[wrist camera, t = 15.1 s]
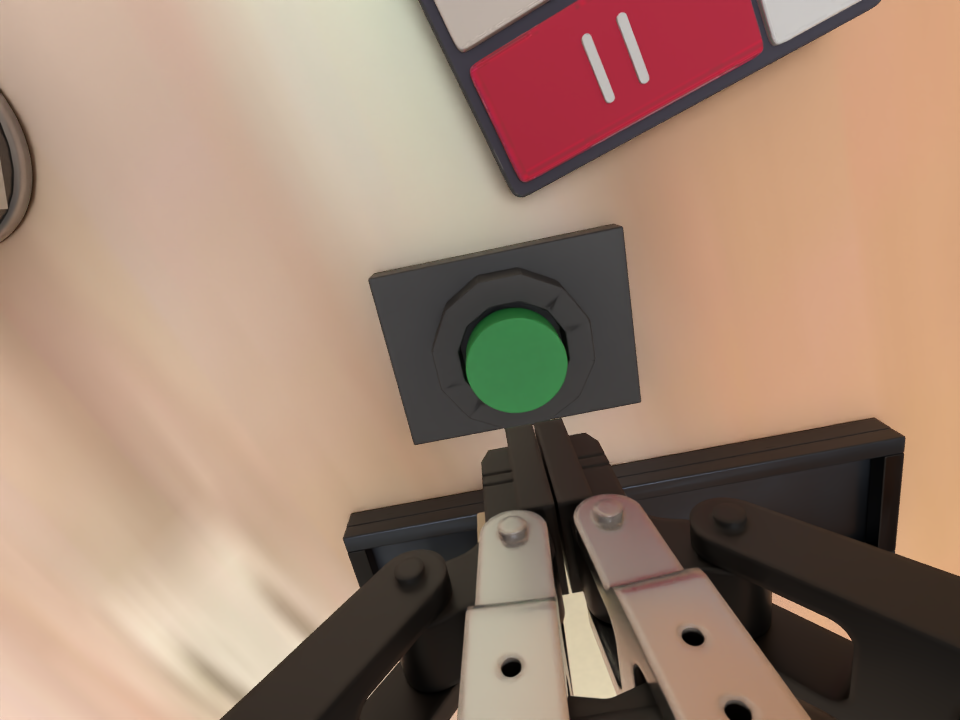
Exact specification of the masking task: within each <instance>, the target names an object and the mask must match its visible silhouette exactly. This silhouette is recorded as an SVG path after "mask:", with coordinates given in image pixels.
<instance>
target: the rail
mask: <svg viewBox="0 0 960 720" xmlns="http://www.w3.org/2000/svg"><path fill="white" fill-rule="evenodd" d="M904 448H905V436H903V435H902V434H900V433H898V432H897V431H895V430H893V429H891V428H890V427H889V426H887V425H886V424H884V423H882V422H881V421H879V420H877V419H876V418H872V419H866V420H861V421H855V422H850V423H844V424H839V425H833V426H828V427H822V428H817V429H812V430H806V431H801V432H795V433H790V434H784V435H779V436H773V437H768V438H762V439H757V440H752V441H746V442H741V443H735V444H730V445H724V446H719V447H713V448H708V449H702V450H697V451H692V452H686V453H681V454H675V455H670V456H664V457H659V458H653V459H648V460H642V461H637V462H632V463H626V464H621V465H615V466H611V467H612V469H613V471H614V473H615V475H616V477H617V479H618V481H619V483H620V484H621V486H622V488H623V490H624V492H625V494H626V496H627V497H629V498H631V499H633V500H635V501H636V502H637V503H639V504H640V506H641V507H642V508H643V510H644V511H645V513H646V514H648V515H652V516H655V517H660V518H668V519H687V520H689V516H690V512H691V510H692V509H693V507H694V506H696V505H697V504H698V503H700V502H702V501H705V500H707V499H712V498H720V497H724V498H735V499H740V500H744V501H747V502H750V503H753V504H756V505H758V506H761V507H764V508H767V509H770V510H773V511H775V512H778V513H781V514H784V515H787V516H790V517H792V518H795V519H798V520H801V521H804V522H807V523H809V524H812V525H815V526H818V527H821V528H824V529H826V530H829V531H832V532H835V533H838V534H841V535H843V536H846V537H849V538H852V539H855V540H858V541H861V542H863V543H866V544H869V545H872V546H875V547H878V548H880V549H883V550H886V551H889V552H892V553H895V547H896V536H897V525H898V515H899V504H900V493H901V482H902V471H903V460H904V453H903V452H904ZM481 512H485V510H484V495H483V490H479V491H473V492H468V493H462V494H457V495H451V496H446V497H441V498H435V499H430V500H424V501H419V502H413V503H408V504H402V505H397V506H391V507H386V508H380V509H375V510H370V511H364V512H359V513H353V514H351V516H350V519H349V522H348V524H347V528H346V531H345V534H344V537H343V540H344V543H345V546H346V549H347V552H348V555H349V558H350V561H351V563H352V566H353V569H354V572H355V575H356V577H357V580H358V583H359V586H360V588H361V587H362V586H363V585H364V584H365V583H366V582H367V581H368V580H369V579H370V578H372V577H373V576H374V575H375V574H376V573H377V572H378V571H379V570H380V569H381V568H382V567H383V566H384V565H385V564H387V563H388V562H389V561H390V560H392V559H393V558H395V557H396V556H398V555H400V554H403V553H405V552H408V551H412V550H419V549H425V550H431V551H434V552H436V553H438V554H440V555H441V556H442V557H443V559H444V560H445V562H446V561H448V560H451V559H453V558H455V557H458V556H460V555H462V554H464V553H466V552H467V551H469V550H470V549H472V548H473V547H474V546H475V545H476V544H477V543H478V537H477V514H478V513H481Z"/></svg>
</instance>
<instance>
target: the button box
mask: <svg viewBox="0 0 960 720" xmlns="http://www.w3.org/2000/svg"><path fill="white" fill-rule="evenodd" d="M368 281H369V284H370V288H371V292H372V295H373V299H374V302H375V306H376V310H377V313H378V317H379V320H380V324H381V327H382V331H383V335H384V338H385V342H386V345H387V349H388V353H389V356H390V360H391V363H392V367H393V370H394V374H395V378H396V381H397V385H398V388H399V392H400V396H401V399H402V403H403V406H404V410H405V414H406V417H407V421H408V424H409V428H410V431H411V435H412V439H413V442H414V444H415V445H418V444H423V443H428V442H434V441H439V440H444V439H450V438H455V437H460V436H465V435H471V434H476V433H481V432H487V431H492V430H497V429H502V428H504V429H505V428H510V427H516V426H521V425H527V424H532V425H534V423H537V422H542V421H548V420H550V419H555V418H561V417H566V416H571V415H577V414H582V413H587V412H592V411H598V410H603V409H608V408H614V407H619V406H624V405H629V404H635V403H640V402H641V396H640V386H639V376H638V367H637V357H636V347H635V338H634V328H633V319H632V309H631V299H630V290H629V280H628V270H627V261H626V251H625V241H624V232H623V227H622V226H619V225H616V224H611V225H606V226H601V227H596V228H592V229H587V230H582V231H577V232H572V233H568V234H563V235H558V236H553V237H548V238H543V239H539V240H534V241H529V242H524V243H519V244H514V245H510V246H505V247H500V248H495V249H490V250H486V251H481V252H476V253H471V254H466V255H461V256H457V257H452V258H447V259H442V260H437V261H432V262H428V263H423V264H418V265H413V266H408V267H404V268H399V269H394V270H389V271H384V272H379V273H375V274H373V275H372V276H371V277H370V278H369V280H368ZM505 308H525V309H529V310H532V311H534V312H537V313H538V314H540V315H542V316H543V317H544V318H546V319H547V320H548V321H549V322H550V323H551V324H552V326H553V327H554V328H555V330H556V332H557V334H558V336H559V338H560V339H561V341H562V343H563V345H564V347H565V350H566V354H567V361H568V367H567V374H566V377H565V380H564V383H563V385H562V387H561V388H560V390H559V391H558V393H557V394H556V395H555V396H554V397H553V398H552V399H551V400H550V401H549V402H547V403H546V404H544V405H543V406H541V407H539V408H537V409H534V410H532V411H528V412H523V413H508V412H503V411H499V410H496V409H494V408H492V407H490V406H488V405H487V404H485V403H484V402H482V401H481V400H480V399H479V398H478V397H477V396H476V394H475V393H474V392H473V390H472V389H471V387H470V384H469V382H468V379H467V374H466V348H467V343H468V339H469V337H470V335H471V333H472V331H473V329H474V328H475V327H476V325H477V324H478V323H479V322H480V321H481V320H482V319H484V318H485V317H486V316H488V315H489V314H491V313H493V312H495V311H498V310H501V309H505Z"/></svg>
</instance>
